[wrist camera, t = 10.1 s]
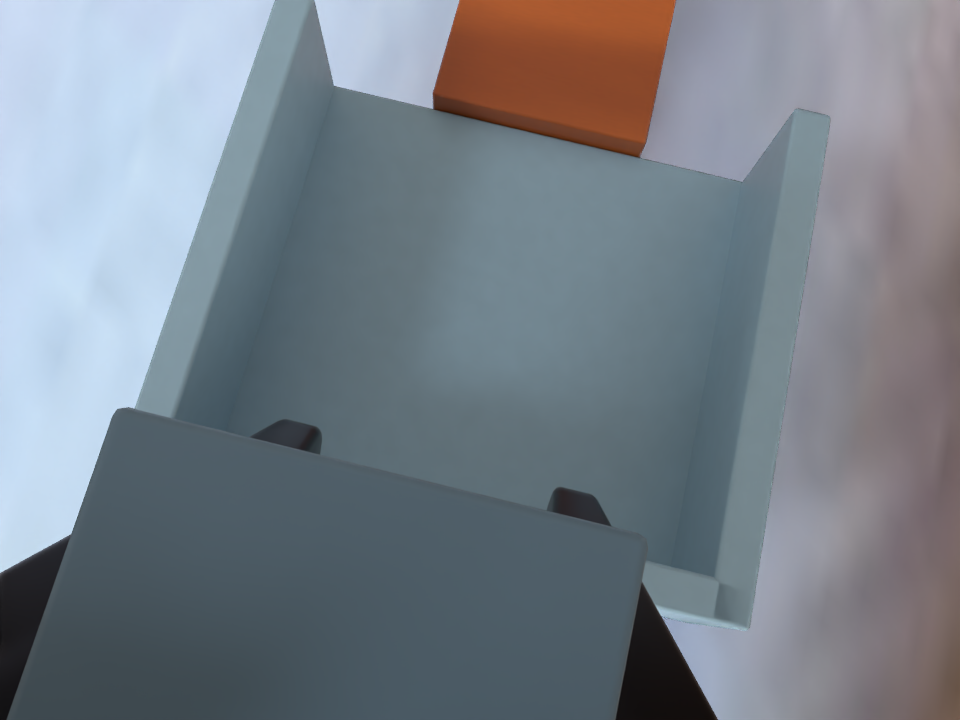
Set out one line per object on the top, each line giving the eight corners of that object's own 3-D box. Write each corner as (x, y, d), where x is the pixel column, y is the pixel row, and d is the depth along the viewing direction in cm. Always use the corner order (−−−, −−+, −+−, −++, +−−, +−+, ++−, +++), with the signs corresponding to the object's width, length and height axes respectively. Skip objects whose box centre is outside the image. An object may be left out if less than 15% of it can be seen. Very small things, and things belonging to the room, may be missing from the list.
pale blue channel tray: (672, 721, 15) (1435, 1170, 3) (147, 589, 15) (-813, 587, 4) (764, 199, 17) (1400, -589, 6) (308, 91, 18) (35, -875, 6)
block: (645, 144, 17) (684, -37, 18) (432, 94, 17) (483, -83, 18) (607, 232, 20) (641, 79, 21) (434, 191, 20) (476, 41, 22)
